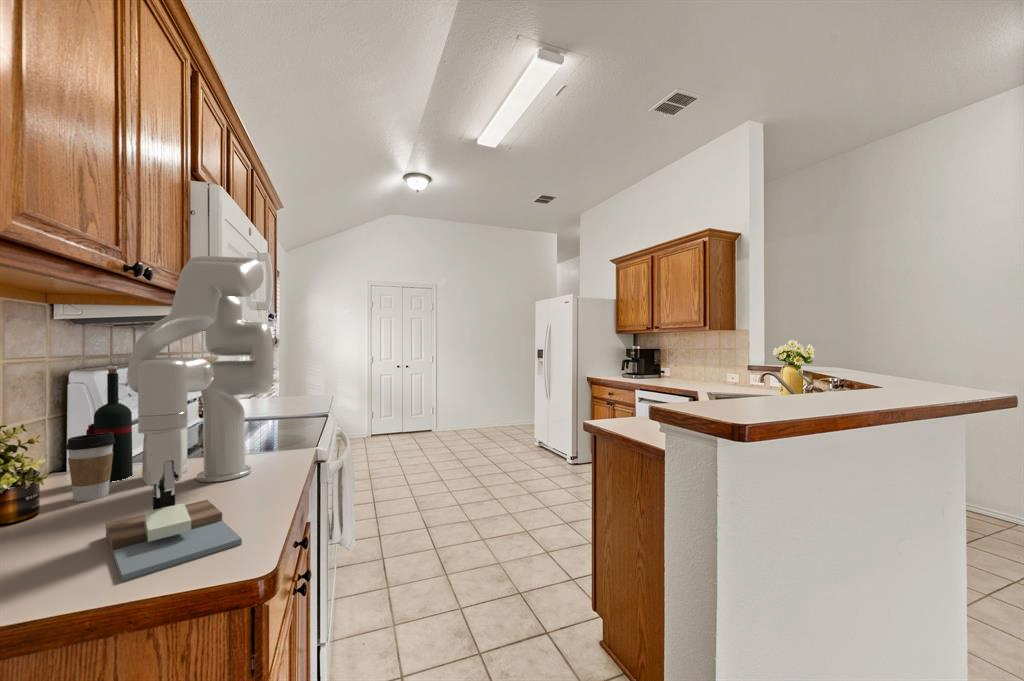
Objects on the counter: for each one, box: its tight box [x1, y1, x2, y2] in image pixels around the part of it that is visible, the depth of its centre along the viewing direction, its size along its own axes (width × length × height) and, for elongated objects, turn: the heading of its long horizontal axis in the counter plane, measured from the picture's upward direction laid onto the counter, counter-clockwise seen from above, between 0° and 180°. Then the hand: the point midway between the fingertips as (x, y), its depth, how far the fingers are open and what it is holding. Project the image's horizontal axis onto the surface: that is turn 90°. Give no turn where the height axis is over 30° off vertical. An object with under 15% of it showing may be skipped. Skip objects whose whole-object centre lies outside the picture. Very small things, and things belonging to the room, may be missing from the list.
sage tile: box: [143, 503, 191, 542], centre depth 79 cm, size 9×6×2 cm, turn 44°
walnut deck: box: [105, 499, 223, 556], centre depth 83 cm, size 11×16×2 cm
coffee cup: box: [65, 432, 115, 503], centre depth 102 cm, size 8×8×15 cm
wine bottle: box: [85, 368, 134, 482], centre depth 115 cm, size 8×10×30 cm
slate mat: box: [112, 520, 243, 583], centre depth 75 cm, size 12×16×1 cm
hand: (164, 516), depth 83 cm, fingers closed
